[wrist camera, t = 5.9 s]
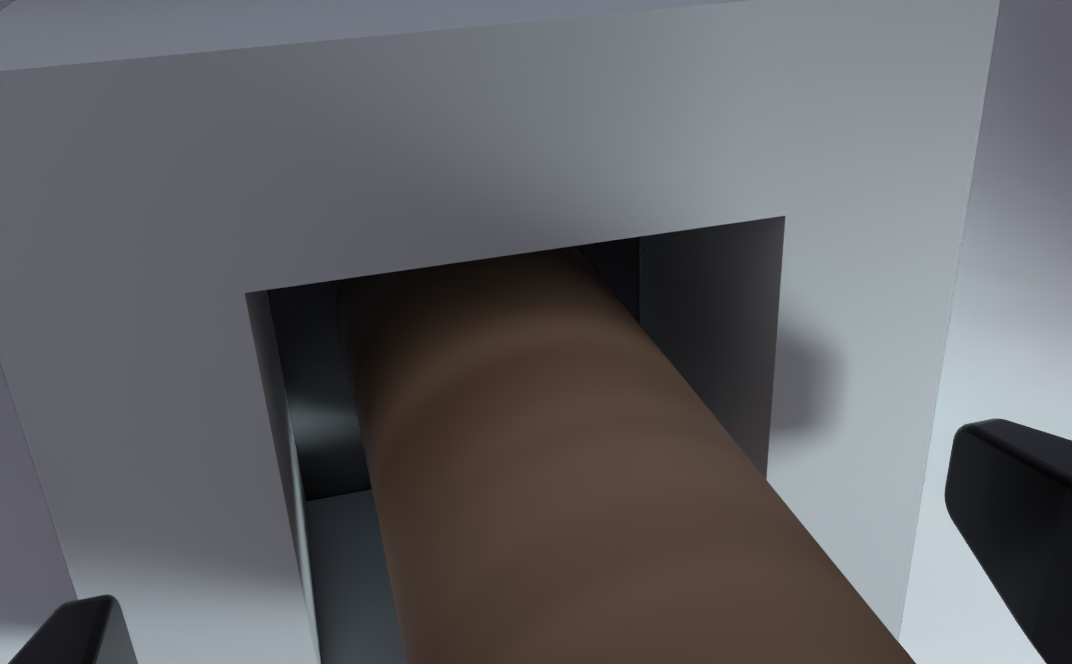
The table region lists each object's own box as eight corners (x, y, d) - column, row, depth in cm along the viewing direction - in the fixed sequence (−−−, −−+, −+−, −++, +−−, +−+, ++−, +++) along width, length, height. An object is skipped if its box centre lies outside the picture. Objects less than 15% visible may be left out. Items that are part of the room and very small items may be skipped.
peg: (589, 397, 15) (981, 1032, 7) (356, 438, 14) (502, 1198, 6) (583, 174, 13) (1079, 668, 5) (322, 208, 12) (456, 832, 5)
